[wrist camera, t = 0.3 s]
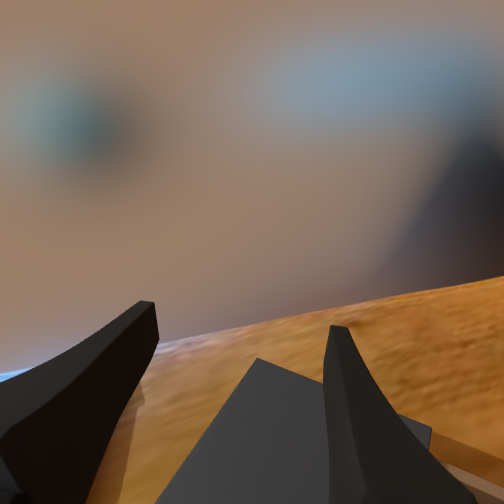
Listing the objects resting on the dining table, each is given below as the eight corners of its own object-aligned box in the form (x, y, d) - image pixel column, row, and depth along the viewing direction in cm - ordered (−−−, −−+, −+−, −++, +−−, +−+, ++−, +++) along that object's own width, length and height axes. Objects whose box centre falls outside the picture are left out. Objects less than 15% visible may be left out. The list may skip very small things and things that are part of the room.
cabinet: (415, 483, 27) (432, 427, 23) (370, 727, 18) (384, 704, 14) (264, 410, 34) (256, 357, 30) (174, 562, 25) (145, 514, 21)
